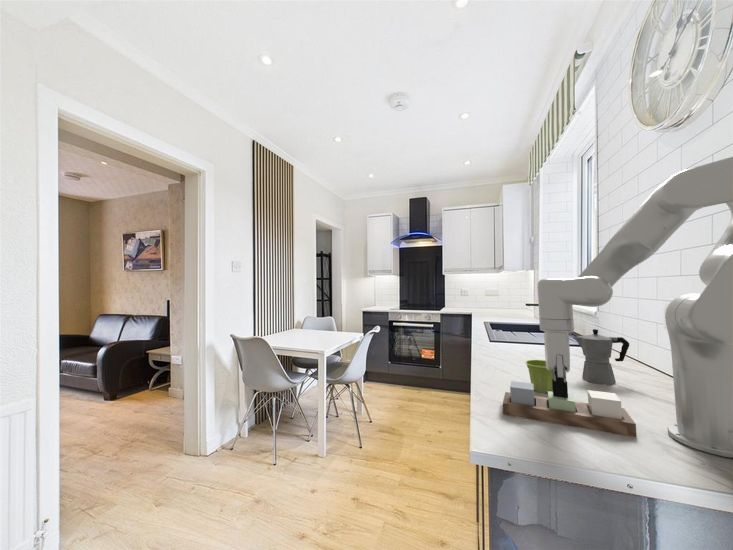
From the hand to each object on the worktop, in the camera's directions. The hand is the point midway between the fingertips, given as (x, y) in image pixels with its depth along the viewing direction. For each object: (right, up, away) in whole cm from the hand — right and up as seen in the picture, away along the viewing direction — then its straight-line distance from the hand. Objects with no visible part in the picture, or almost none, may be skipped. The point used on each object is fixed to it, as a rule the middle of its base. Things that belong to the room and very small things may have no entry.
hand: (560, 395), depth 75 cm
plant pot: (+7, -6, +19) cm, 22 cm away
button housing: (0, -5, 0) cm, 6 cm away
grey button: (-7, -4, +4) cm, 9 cm away
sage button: (0, -5, 0) cm, 5 cm away
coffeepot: (+32, -6, +26) cm, 42 cm away
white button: (+8, -3, -5) cm, 10 cm away
